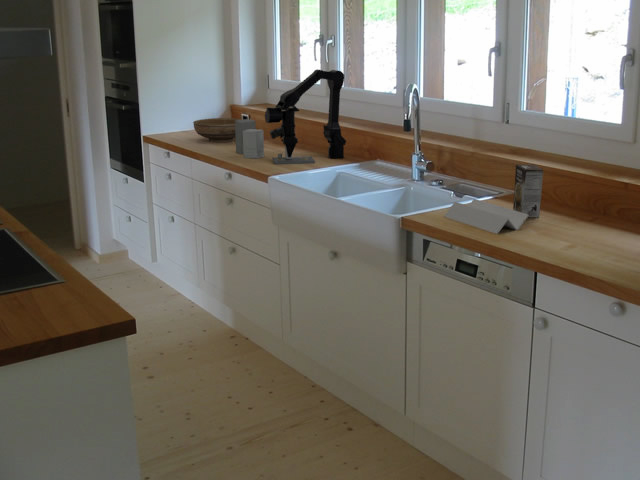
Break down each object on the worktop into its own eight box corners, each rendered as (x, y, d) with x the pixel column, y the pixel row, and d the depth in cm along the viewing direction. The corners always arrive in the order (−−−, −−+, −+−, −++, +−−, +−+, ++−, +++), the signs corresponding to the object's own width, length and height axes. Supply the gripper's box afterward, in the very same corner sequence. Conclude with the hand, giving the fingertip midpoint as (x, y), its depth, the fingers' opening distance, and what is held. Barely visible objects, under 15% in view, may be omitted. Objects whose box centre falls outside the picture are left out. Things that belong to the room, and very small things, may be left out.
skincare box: (250, 151, 383) (249, 118, 379) (257, 153, 377) (256, 120, 373) (234, 152, 379) (233, 119, 374) (241, 154, 373) (240, 121, 369)
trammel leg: (291, 157, 357) (291, 144, 355) (292, 158, 354) (292, 145, 352) (285, 157, 357) (285, 144, 355) (285, 159, 354) (285, 145, 352)
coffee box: (512, 211, 265) (515, 164, 261) (530, 210, 266) (534, 163, 261) (520, 218, 257) (524, 169, 252) (540, 217, 257) (543, 169, 253)
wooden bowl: (259, 143, 406) (258, 124, 403) (206, 147, 394) (205, 127, 391) (234, 134, 438) (234, 116, 435) (185, 137, 426) (184, 119, 423)
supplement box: (264, 156, 369) (264, 129, 365) (256, 158, 362) (256, 131, 359) (250, 155, 372) (250, 128, 368) (243, 157, 365) (242, 130, 362)
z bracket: (506, 245, 242) (496, 233, 238) (453, 227, 262) (443, 216, 259) (528, 215, 244) (519, 203, 240) (474, 199, 264) (465, 188, 261)
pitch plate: (311, 158, 363) (311, 151, 362) (314, 163, 352) (314, 155, 351) (272, 159, 361) (272, 151, 360) (274, 164, 349) (274, 156, 348)
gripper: (268, 119, 359) (269, 153, 363) (272, 125, 341) (272, 160, 345) (292, 119, 360) (293, 152, 364) (297, 124, 342) (297, 159, 347)
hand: (288, 156), depth 355 cm, fingers open, 5 cm apart
